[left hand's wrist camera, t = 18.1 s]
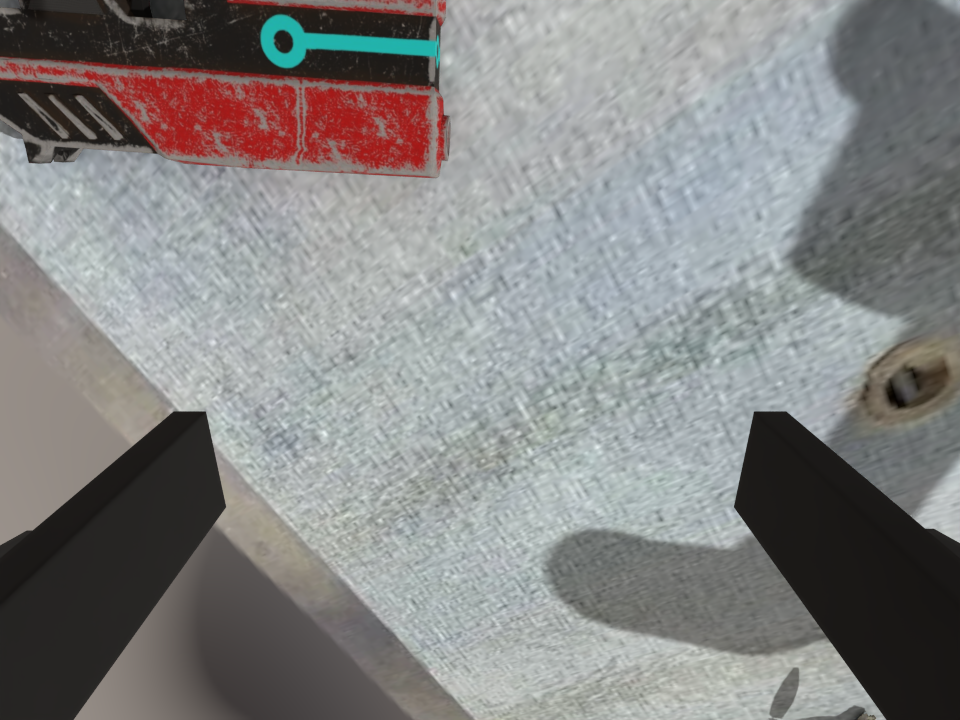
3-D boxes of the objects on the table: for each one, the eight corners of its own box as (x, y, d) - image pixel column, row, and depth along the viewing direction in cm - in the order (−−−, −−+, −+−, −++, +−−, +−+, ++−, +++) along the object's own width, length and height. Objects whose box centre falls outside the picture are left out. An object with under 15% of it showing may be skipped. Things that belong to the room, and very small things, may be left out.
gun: (-126, -229, 28) (-16, 160, 35) (458, -189, 28) (445, 191, 36) (-46, -181, 32) (37, 158, 40) (462, -146, 32) (449, 185, 40)
